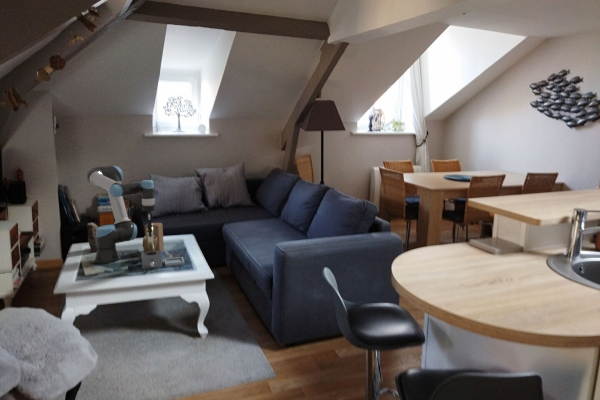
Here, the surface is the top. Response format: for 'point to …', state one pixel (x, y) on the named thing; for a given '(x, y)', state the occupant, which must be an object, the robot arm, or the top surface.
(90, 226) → the owl
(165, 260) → the tray
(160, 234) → the wooden block
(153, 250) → the stone cup
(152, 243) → the cylindrical container
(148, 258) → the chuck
